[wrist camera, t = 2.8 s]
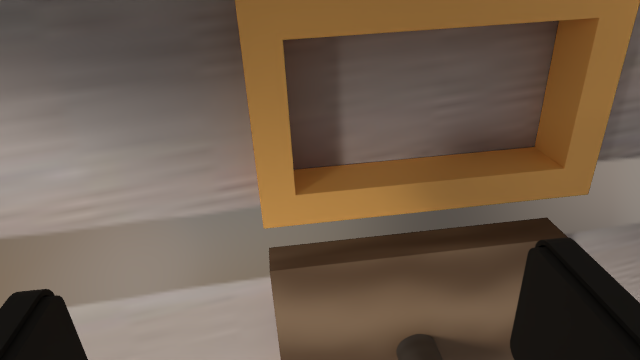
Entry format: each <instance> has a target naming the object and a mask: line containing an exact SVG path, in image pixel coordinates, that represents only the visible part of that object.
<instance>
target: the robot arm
mask: <svg viewBox="0 0 640 360" xmlns="http://www.w3.org/2000/svg"><path fill="white" fill-rule="evenodd" d="M510 349H511V353H512V356H513V358H514V360H640V303H639V302H638V301H637V300H636V299H635V298H634V297H633V296H632V295H631V294H630V293H629V292H628V291H626V290H625V289H624V288H623V287H622V286H621V285H620V284H619V283H618V282H617V281H616V280H615V279H614V278H613V277H612V276H611V275H610V274H609V273H608V272H607V271H605V270H604V269H603V268H602V267H601V266H600V265H599V264H598V263H597V262H596V261H595V260H594V259H593V258H592V257H591V256H590V255H589V254H588V253H587V252H586V251H584V250H583V249H582V248H581V247H580V246H579V245H578V244H577V243H576V242H575V241H574V240H572V239H571V238H567V237H564V238H554V239H544V240H540V241H538V242H537V243H536V245H535V248H531V249H530V250H529V252H528V255H527V260H526V265H525V270H524V275H523V280H522V284H521V289H520V294H519V299H518V304H517V309H516V314H515V319H514V324H513V329H512V334H511V338H510ZM0 360H88V359H87V356H86V354H85V351H84V349H83V347H82V344H81V342H80V339H79V337H78V334H77V332H76V329H75V327H74V324H73V322H72V319H71V317H70V314H69V312H68V310H67V307H66V305H65V302H64V300H63V298H62V297H60V296H55V295H54V293H53V292H52V291H50V290H49V289H42V290H32V291H22V292H16V293H13V294H12V295H11V296H10V297H9V298H8V299H7V301H6V302H5V303H4V304H3V306H2V307H1V308H0Z"/></svg>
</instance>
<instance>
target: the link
mask: <svg viewBox="0 0 640 360" xmlns="http://www.w3.org/2000/svg"><path fill="white" fill-rule="evenodd" d="M639 3H640V0H235V5H236V13H237V21H238V29H239V37H240V45H241V52H242V60H243V68H244V76H245V84H246V92H247V100H248V108H249V116H250V124H251V132H252V140H253V147H254V155H255V163H256V171H257V179H258V187H259V195H260V203H261V210H262V219H263V226H264V228H274V227H283V226H293V225H302V224H312V223H320V222H330V221H340V220H350V219H359V218H368V217H378V216H388V215H397V214H407V213H416V212H426V211H435V210H445V209H454V208H464V207H473V206H483V205H491V204H501V203H511V202H521V201H530V200H539V199H549V198H559V197H567V196H578V195H587V194H588V193H589V189H590V185H591V182H592V178H593V175H594V171H595V167H596V163H597V160H598V156H599V152H600V149H601V145H602V141H603V137H604V134H605V130H606V126H607V122H608V119H609V115H610V111H611V108H612V104H613V100H614V96H615V93H616V89H617V85H618V82H619V78H620V74H621V70H622V67H623V63H624V59H625V56H626V52H627V48H628V44H629V41H630V37H631V33H632V30H633V26H634V22H635V18H636V15H637V11H638V7H639ZM545 21H559V24H558V29H557V34H556V39H555V44H554V49H553V55H552V60H551V65H550V70H549V75H548V80H547V86H546V91H545V96H544V101H543V106H542V111H541V117H540V122H539V127H538V132H537V137H536V142H535V147H528V148H518V149H507V150H497V151H486V152H476V153H465V154H454V155H444V156H433V157H423V158H412V159H402V160H391V161H381V162H370V163H360V164H349V165H339V166H328V167H318V168H307V169H296V170H293V158H292V146H291V134H290V122H289V110H288V98H287V85H286V73H285V61H284V49H283V40H290V39H304V38H318V37H332V36H346V35H361V34H375V33H389V32H403V31H417V30H432V29H446V28H460V27H474V26H489V25H503V24H517V23H531V22H545Z"/></svg>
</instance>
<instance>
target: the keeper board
mask: <svg viewBox="0 0 640 360" xmlns="http://www.w3.org/2000/svg"><path fill="white" fill-rule="evenodd" d="M564 237H567V236H566V235H565V234H564V233H563V232H562V231H561V230H559V229H558V228H557V227H556V226H555V225H554V224H553V223H552V222H551V221H550V220H549V219H548V218H539V219H530V220H521V221H512V222H503V223H493V224H484V225H475V226H466V227H457V228H447V229H439V230H429V231H420V232H411V233H402V234H392V235H383V236H374V237H365V238H356V239H347V240H337V241H328V242H319V243H310V244H301V245H292V246H283V247H273V248H269V260H270V276H271V284H272V292H273V300H274V308H275V316H276V324H277V332H278V340H279V348H280V356H281V360H514V358H513V356H512V353H511V349H510V338H511V334H512V329H513V324H514V319H515V314H516V309H517V304H518V299H519V294H520V289H521V284H522V280H523V275H524V270H525V265H526V260H527V255H528V252H529V250H530V249H531V248H535V245H536V243H537V242H538V241H540V240H544V239H554V238H564ZM567 238H568V237H567Z"/></svg>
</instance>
